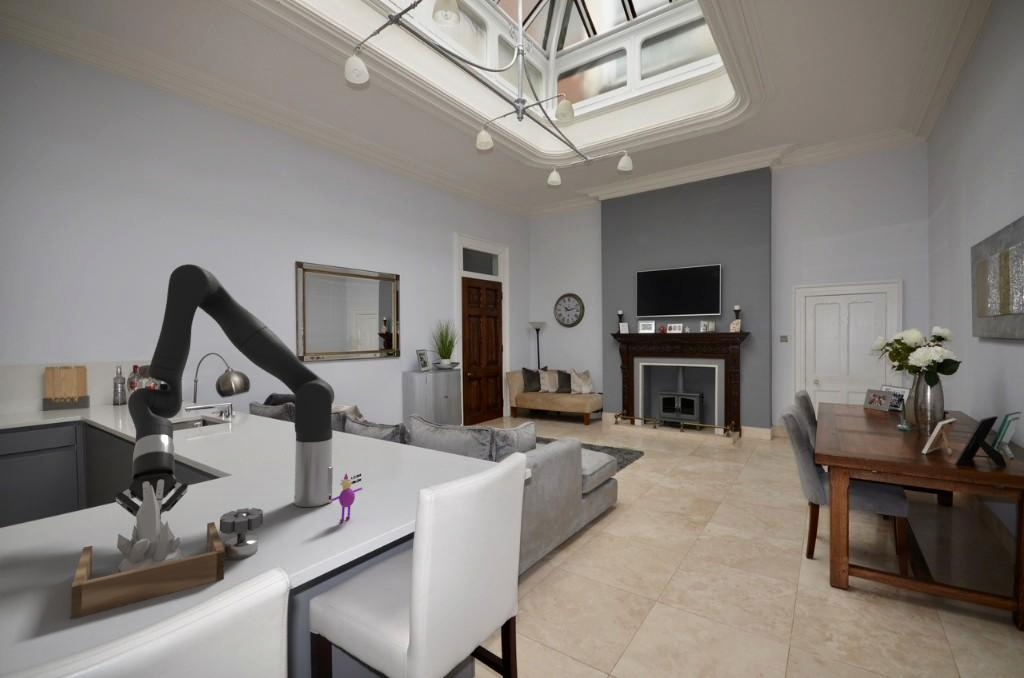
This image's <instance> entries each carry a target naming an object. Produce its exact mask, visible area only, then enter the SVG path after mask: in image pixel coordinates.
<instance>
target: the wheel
mask: <svg viewBox="0 0 1024 678" xmlns="http://www.w3.org/2000/svg"><path fill="white" fill-rule="evenodd" d="M240 513H247V516H246V517H241V518H238V514H240ZM219 517H220V518H219V532H221V534H225V535H232V534H234V535H237V534H240V533H246V534H247V533H248V531H249V532H254V531H255V530H257V529H259V528H261V527H262V526H263V525H264V524H263V523H264V510H263V509H261V508H257V507H252V508H249V507H247V508H246V507H245V508H240V509H238V508H237V509H236V510H231V511H228V512H226V513H224V514H222V515H220V516H219Z"/></svg>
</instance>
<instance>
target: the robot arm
mask: <svg viewBox="0 0 1024 678" xmlns="http://www.w3.org/2000/svg"><path fill="white" fill-rule="evenodd" d="M198 308H199V309H201V310H202V311H203V312H205V313H206V314H207V315H208V316H209V317H211V319H213V320H214V321H215V323H217V325H218V326H219V327H220V328H221V330H222V331H223V333H224V335H226V338H227V339H228V340H229V341H230V343H231V344H232V345H233V346H234V347H235V349H237V350H238V351H239V352H240V353H241V354H242V355H243V356H244V357H245V358H247V359H248V360H249V361H250V362H251V363H253V364H254V365H255V366H257V367H258V368H259V369H260V370H263V371H264V372H266V373H267V374H269V375H271V376H273V377H275V378H276V379H278V381H280V382H281V383H283V385H285V386H286V387H287V388H288V389H289V390H290V391H291V392H292V394H294V396H295V397H294V431H295V453H294V454H295V456H294V457H295V458H294V462H295V463H294V464H295V465H294V494H293V496H294V500H293V502H294V503H293V504H294V505H295V506H297V507H300V508H312V507H319V506H323V505H326V504H328V500H329V494H331V499H333V483H334V482H333V478H334V476H333V474H334V473H333V471H334V469H333V461H332V460H333V427H332V425H333V424H332V414H333V413H332V410H333V409H332V407H333V405H332V404H333V403H334V400H335V391H334V388H333V387H332V386H331V384H330V383H328V382H327V381H326V380H325V379H323V378H321V376H319V375H318V374H316V373H315V372H314V371H313V370H311V369H310V368H309V367H308V366H306V365H305V364H304V363H303V362H302V361H301V359H299V358H298V357H297V356H296V354H295V353H294V352H293V351H292V350H291V349H290V348H289V347H288V346H287V345H286V344H285V343H284V342H283V340H281V338H280V337H279V336H278V335H277V334H276V333H275V332H274V331H273V330H271V328H269V327H268V325H266V324H265V323H264V322H262V321H261V320H260V319H259V318H258V317H256V315H255V314H253V313H251V312H250V311H249V310H248V309H247V308H245V307H244V306H242V305H241V303H239V302H238V301H237V300H236V299H235V298H234V297H233V296H232V295H231V293H229V291H228V290H227V288H225V287H224V286H223V284H222V283H221V282H220V281H219V280H218V278H217V277H216V276H215V275H214V274H213V273H211V272H210V271H209V270H207V269H205V268H203V267H202V266H198V265H195V264H189V263H187V264H182V265H180V266H177V267H176V268H175V269H174V270H173V271H172V272H171V274H170V275H169V279H168V286H167V296H166V305H165V309H164V314H163V315H164V316H163V320H162V325H161V328H160V331H159V332H160V333H159V336H158V340H157V342H156V346H155V349H154V353H153V355H152V358H151V362H150V365H149V367H148V371H147V375H148V376H149V377H150V378H151V379H154V380H156V381H160V382H163V383H165V384H166V385H167V389H160V388H159V389H158V388H151V387H139V388H137V389H135V390H133V392H131V394H130V396H129V398H128V400H127V407H128V412H129V415H130V417H131V420H132V422H133V425H134V429H135V445H134V449H133V454H132V471H131V472H132V473H131V481H130V483H129V485H128V488H127V489H125V490H124V491H119V492H117V493H116V494H115V500H116V501H115V502H116V504H117V505H119V506H121V507H122V508H123V509H124V510H126V511H127V512H128V513H129V514H130V515H132V516H133V517H135V518H136V514H137V512H138V510H139V508H140V506H141V505H139V504H137V502H135V500H133V499H132V496H133V497H134V498H135V499H137V501H139V502H141V503H142V502H143V500H144V498H145V496H146V494H147V492H148V490H149V488H150V485H152V487H153V490H154V493H155V496H156V499H157V502H158V505H159V508H160V520H161V519H162V516H161V515H162V514H163V513H164V512H170V511H171V510H172V509H174V506H176V504H177V503H178V502H179V501H180V500H181V499H182V498H183V497H184V496H185V495H186V493H187V492H188V489H189V488H188V487H189V486H188V485H189V484H188V483H186V482H185V483H181V482H178V478H177V477H176V476H175V458H176V455H175V445H174V426H173V422H172V421H171V420H170V419H171V418H172V419H173V418H175V416H177V415H178V413H180V411H181V409H182V401H183V400H182V381H183V374H184V372H185V371H184V370H185V368H186V364H187V361H188V359H189V356H190V350H191V343H192V330H193V329H192V327H193V323H194V322H193V321H194V317H195V315H196V312H197V309H198ZM172 491H173V494H172V495H171V496H170V497H169V498H168V499H167V500H166V501H165V502H164V503H163V500H164V499H165V498H166V497H168V495H169V494H170V493H172ZM161 521H162V520H161Z"/></svg>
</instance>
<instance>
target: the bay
mask: <svg viewBox="0 0 1024 678" xmlns="http://www.w3.org/2000/svg"><path fill="white" fill-rule="evenodd" d="M206 525H207V526H206V527H207V529H206V548H207V549H206V550H207V552H206V553H205V552H204V553H201V554H197V555H193V556H188V557H184V558H179V559H178V560H174V561H170V562H166V563H161V564H157V565H153V566H148V567H144V568H140V569H135V570H131V571H126V572H122V573H121V572H119V573H115V574H110V575H106V576H101V577H97V578H92V579H91V577H92V573H93V545H89V546H84V547H83V549H82V552H81V555H80V559H79V562H78V565H77V569H76V572H75V575H74V578H73V581H72V585H71V593H70V595H71V598H70V600H71V601H70V620H73V619H76V618H80V617H84V616H88V615H91V614H95V613H100V612H103V611H107V610H111V609H115V608H117V607H118V608H119V607H121V606H126V605H130V604H134V603H137V602H142V601H144V600H149V599H152V598H156V597H160V596H164V595H167V594H171V593H175V592H179V591H183V590H187V589H190V588H193V587H198V586H201V585H205V584H209V583H213V582H217V581H221V580H224V578H225V558H224V556H225V551H224V545H223V543H222V541H221V537H220V534H219V532H218V529H217V526H216V524H215V522H214V521H212V522H208V523H207V524H206Z"/></svg>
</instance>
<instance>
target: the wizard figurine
mask: <svg viewBox="0 0 1024 678" xmlns="http://www.w3.org/2000/svg"><path fill="white" fill-rule="evenodd" d="M359 477H362V473H359V474H356V475H353V476H351V477H349V476H348V474H347V472H345V475H344V477H343V478H342V479H340V481H341V483H340V486H342V490H341V492H340V494H339V496H336V497H332V499H331V494H329V500H328V503H329V504H330V503H333V502H334V501H336V500H338V502H339V504H340V506H341V518H340V519H339V522H341V523H343V522H345V519H346V520H350V519H351V506H352V505H353V504H354V501H355V500H356V499H355V498H356V495H355V493H356V492H359V491H363V489H364V487H363V486H360V487H359V488H356V489H354V490H353V489H352V488H351V486H352V485H354V484H356V483H359V482H361V481H362V478H359ZM357 478H358V479H357ZM355 479H356V480H355ZM328 503H327V504H328ZM346 508H347V516H346V517H345V511H346V510H345V509H346Z"/></svg>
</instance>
